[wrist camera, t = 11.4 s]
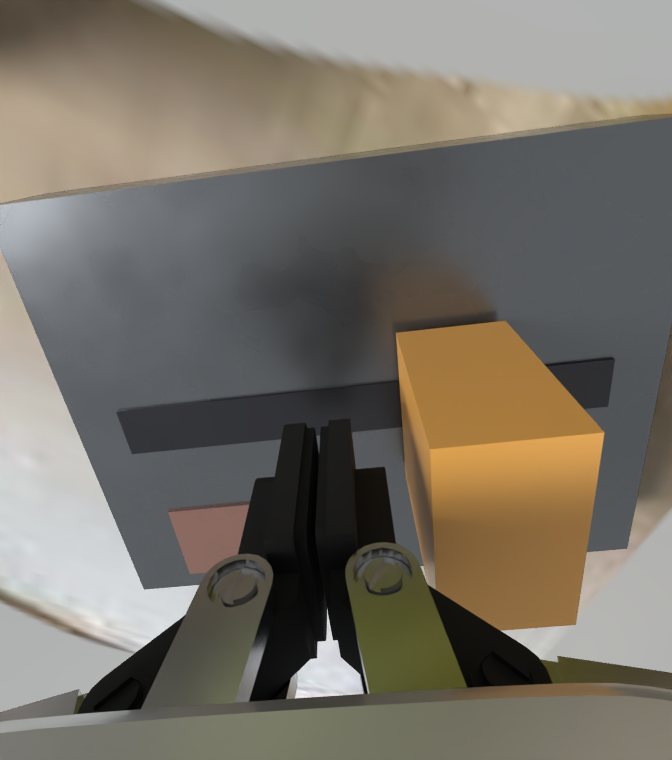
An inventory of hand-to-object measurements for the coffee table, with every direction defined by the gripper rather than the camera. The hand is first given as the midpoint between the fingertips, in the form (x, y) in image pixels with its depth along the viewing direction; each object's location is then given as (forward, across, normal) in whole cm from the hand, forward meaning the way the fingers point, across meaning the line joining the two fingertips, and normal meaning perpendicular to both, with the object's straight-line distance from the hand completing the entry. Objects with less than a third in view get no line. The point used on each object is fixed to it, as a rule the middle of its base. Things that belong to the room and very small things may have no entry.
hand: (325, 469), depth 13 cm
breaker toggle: (+3, -4, 0) cm, 5 cm away
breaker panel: (+6, -1, 0) cm, 6 cm away
